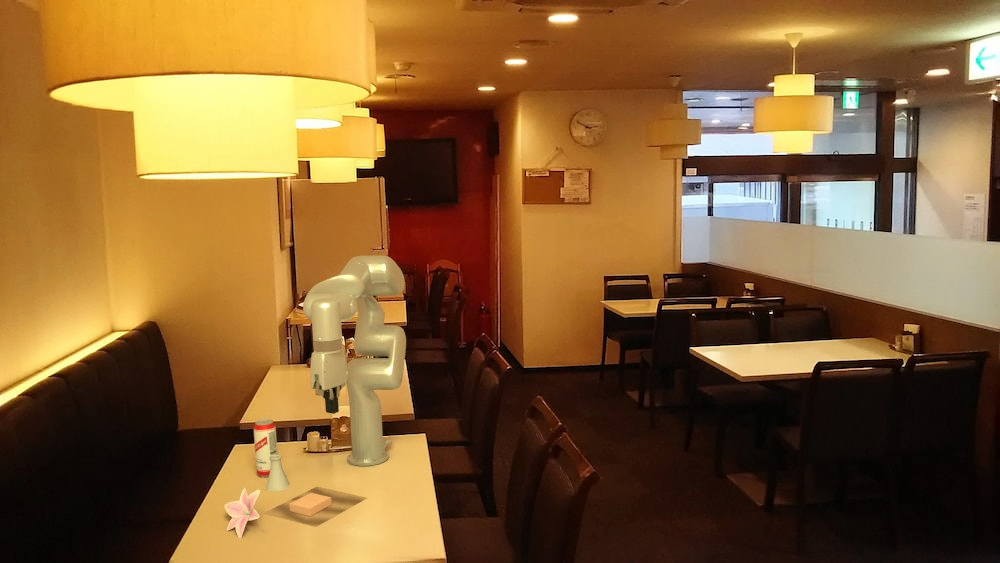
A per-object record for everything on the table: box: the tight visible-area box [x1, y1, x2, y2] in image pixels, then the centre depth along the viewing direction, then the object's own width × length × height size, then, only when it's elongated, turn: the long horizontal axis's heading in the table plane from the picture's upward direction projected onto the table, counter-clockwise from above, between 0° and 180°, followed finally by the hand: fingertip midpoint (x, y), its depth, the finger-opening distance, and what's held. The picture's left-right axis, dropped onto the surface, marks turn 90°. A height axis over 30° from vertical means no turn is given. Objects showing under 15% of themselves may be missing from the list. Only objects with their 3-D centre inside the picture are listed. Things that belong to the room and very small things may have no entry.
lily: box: [224, 487, 261, 539], centre depth 205 cm, size 12×12×10 cm
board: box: [263, 486, 368, 528], centre depth 215 cm, size 20×18×1 cm
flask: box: [264, 454, 291, 492], centre depth 228 cm, size 7×7×10 cm
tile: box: [289, 493, 332, 516], centre depth 213 cm, size 2×7×8 cm
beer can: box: [253, 418, 279, 478], centre depth 241 cm, size 6×6×16 cm
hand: (332, 412), depth 219 cm, fingers closed
